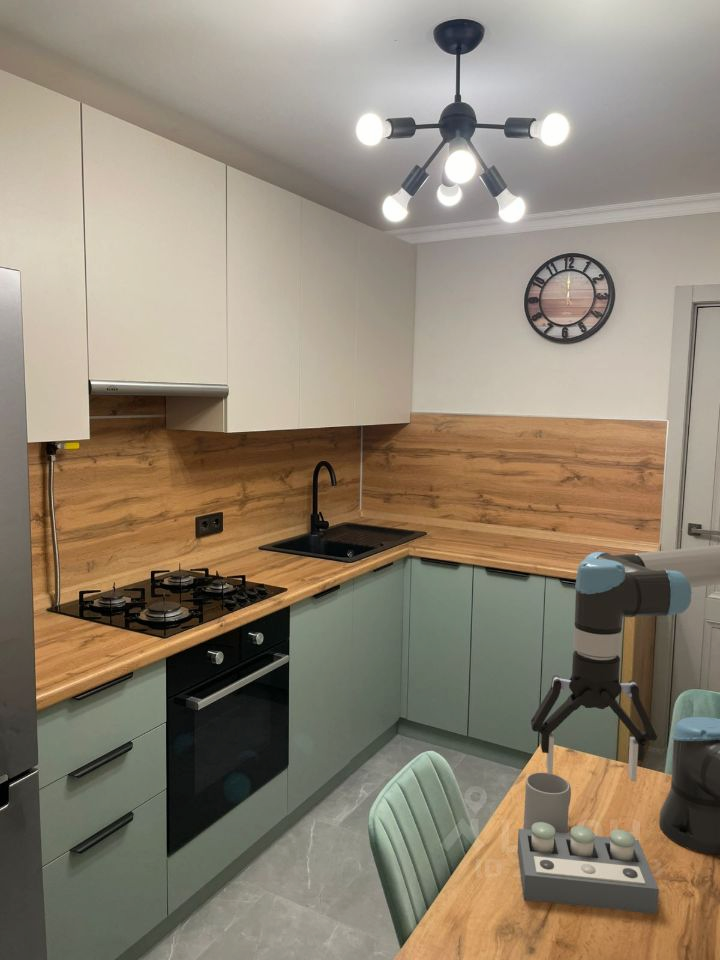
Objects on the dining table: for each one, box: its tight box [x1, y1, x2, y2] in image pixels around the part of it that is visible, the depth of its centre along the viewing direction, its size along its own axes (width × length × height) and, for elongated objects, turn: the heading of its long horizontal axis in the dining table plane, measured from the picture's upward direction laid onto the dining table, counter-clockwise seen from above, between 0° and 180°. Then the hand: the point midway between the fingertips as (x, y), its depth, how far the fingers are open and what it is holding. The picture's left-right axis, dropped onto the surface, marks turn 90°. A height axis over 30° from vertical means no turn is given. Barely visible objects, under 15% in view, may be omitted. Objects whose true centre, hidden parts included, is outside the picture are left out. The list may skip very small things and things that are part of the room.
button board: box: [517, 828, 660, 915], centre depth 130 cm, size 22×14×4 cm, turn 82°
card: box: [534, 856, 645, 885], centre depth 126 cm, size 18×4×1 cm, turn 82°
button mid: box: [570, 825, 596, 858], centre depth 132 cm, size 4×4×4 cm
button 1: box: [531, 822, 555, 854], centre depth 133 cm, size 4×4×4 cm
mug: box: [522, 772, 572, 833], centre depth 145 cm, size 12×8×11 cm
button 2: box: [609, 829, 636, 862], centre depth 131 cm, size 4×4×4 cm
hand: (590, 774), depth 123 cm, fingers open, 13 cm apart
